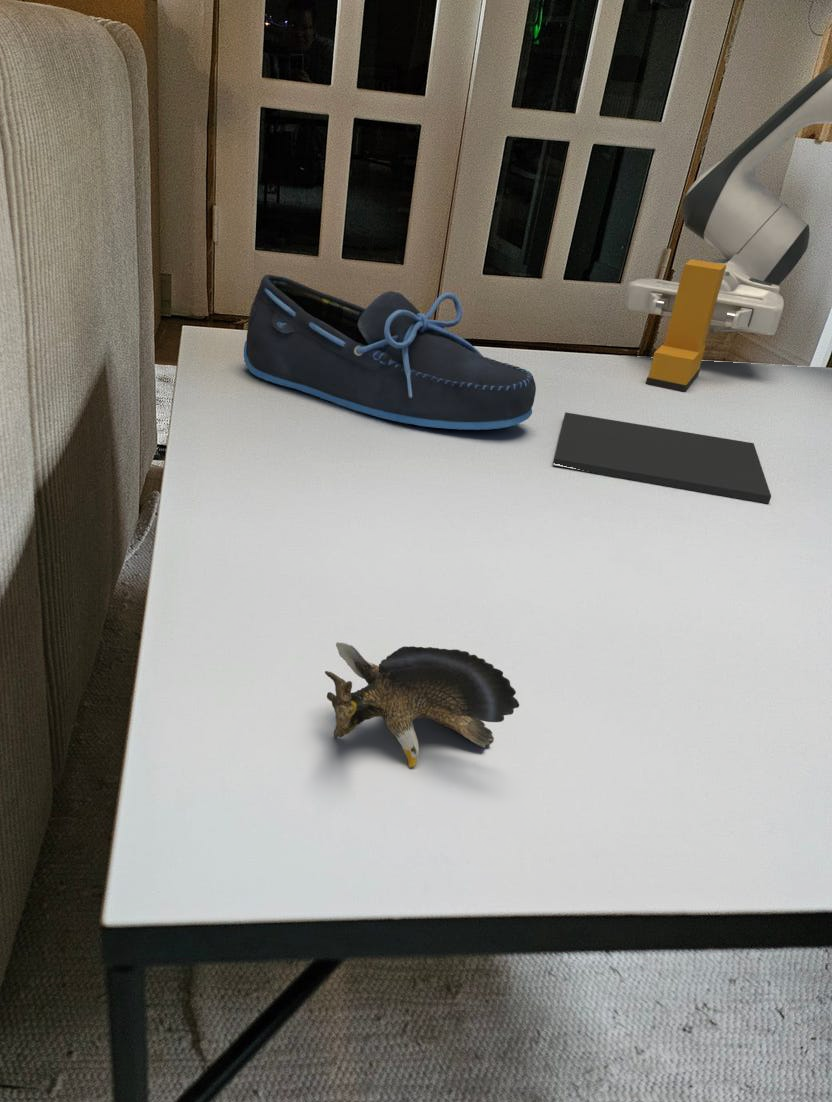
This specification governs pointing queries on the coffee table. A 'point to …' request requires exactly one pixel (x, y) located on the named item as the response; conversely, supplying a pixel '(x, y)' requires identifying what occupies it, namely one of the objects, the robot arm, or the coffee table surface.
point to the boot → (687, 326)
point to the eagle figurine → (423, 694)
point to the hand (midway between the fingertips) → (693, 314)
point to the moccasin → (381, 359)
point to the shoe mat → (662, 457)
